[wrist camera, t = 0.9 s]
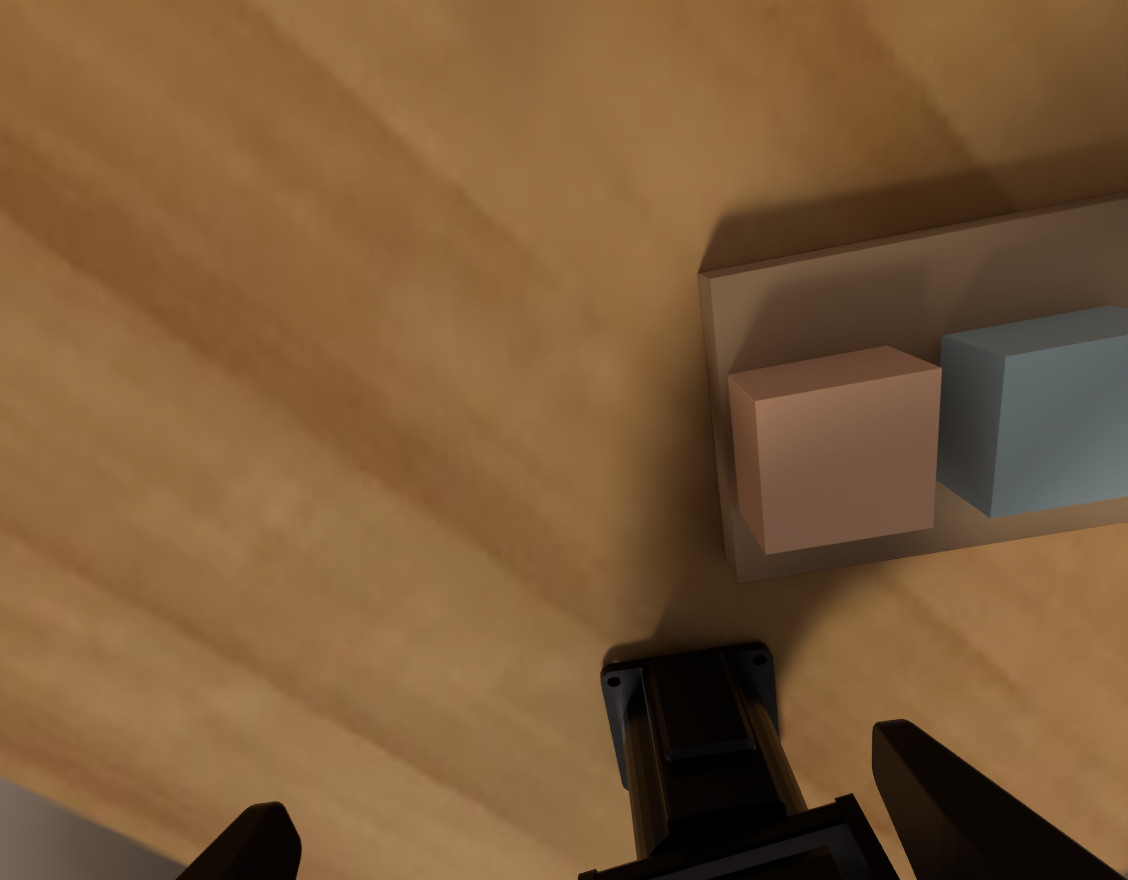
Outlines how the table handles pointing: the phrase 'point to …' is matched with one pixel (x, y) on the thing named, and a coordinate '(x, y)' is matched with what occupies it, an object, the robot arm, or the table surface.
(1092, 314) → the slate tile
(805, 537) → the terracotta tile
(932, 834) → the robot arm
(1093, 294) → the board
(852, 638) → the table surface
